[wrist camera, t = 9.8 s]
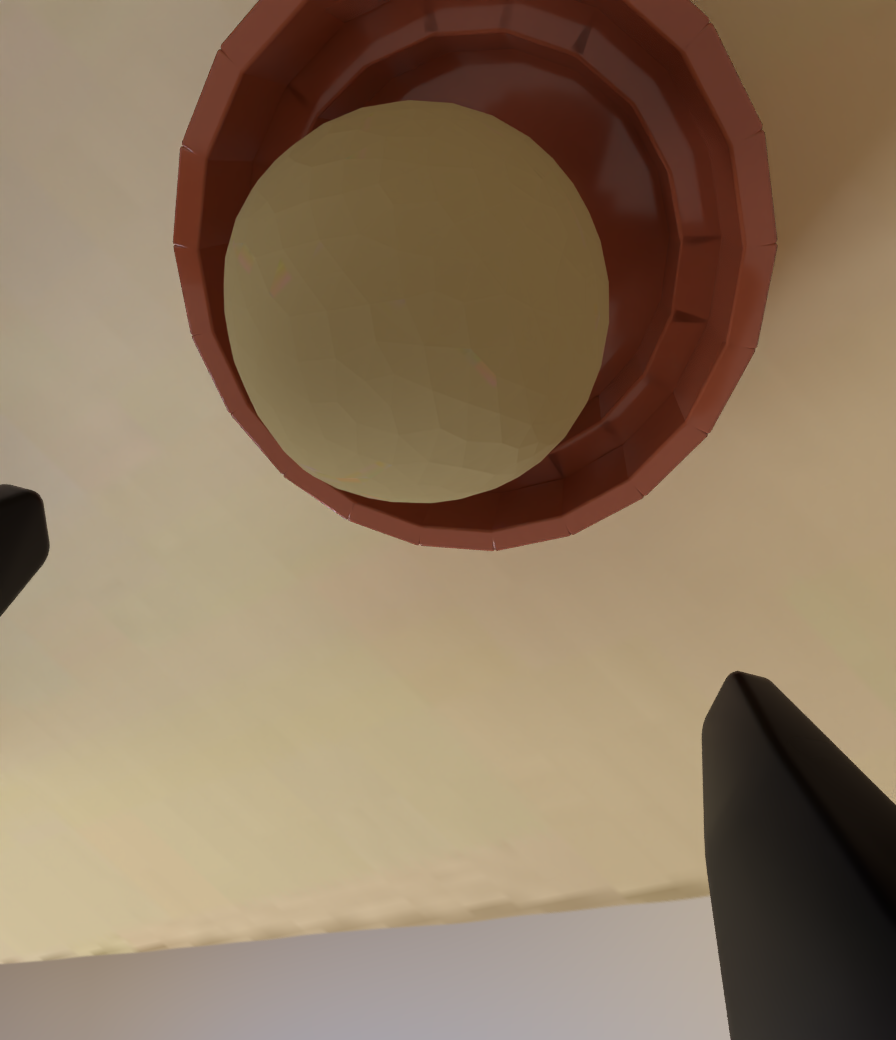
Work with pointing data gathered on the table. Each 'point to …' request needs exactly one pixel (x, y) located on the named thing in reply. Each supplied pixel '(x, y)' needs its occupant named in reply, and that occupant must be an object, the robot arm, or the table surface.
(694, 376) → the bowl
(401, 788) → the table surface
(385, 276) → the light bulb
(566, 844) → the table surface
